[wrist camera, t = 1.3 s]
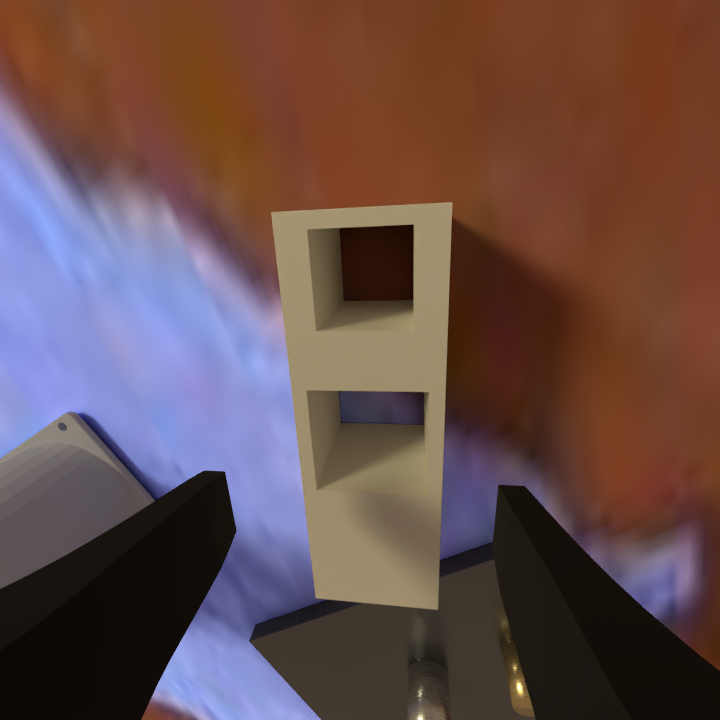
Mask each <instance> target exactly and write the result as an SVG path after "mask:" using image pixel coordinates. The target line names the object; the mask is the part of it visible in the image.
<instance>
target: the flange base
mask: <svg viewBox="0 0 720 720" xmlns="http://www.w3.org/2000/svg"><path fill="white" fill-rule="evenodd" d="M492 547H493V543H490V544H487V545H484V546H481V547H478V548H475V549H473V550H470V551H467V552H464V553H461V554H458V555H455V556H453V557H450V558H447V559H444V560H441V561H440V564H439V592H438V610H434V609H424V608H413V607H402V606H392V605H381V604H371V603H360V602H350V601H339V600H326V601H324V602H321V603H318V604H315V605H312V606H309V607H306V608H303V609H301V610H298V611H295V612H292V613H289V614H286V615H283V616H281V617H278V618H275V619H272V620H269V621H266V622H263V623H260V624H258V625H255V628H254V630H253V633H252V635H251V638H250V643H251V644H252V645H253V646H254V647H255V648H256V649H257V650H258V651H259V652H260V653H261V655H262V656H263V657H264V658H265V659H266V660H267V661H268V662H269V663H270V664H271V665H272V666H273V668H274V669H275V670H276V671H277V672H278V673H279V674H280V675H281V676H282V677H283V678H284V680H285V681H286V682H287V683H288V684H289V685H290V686H291V687H292V688H293V689H294V690H295V692H296V693H297V694H298V695H299V696H300V697H301V698H302V699H303V700H304V701H305V702H306V703H307V705H308V706H309V707H310V708H311V709H312V710H313V711H314V712H315V713H316V714H317V715H318V717H319V718H320V719H321V720H536V719H535V715H534V711H533V707H532V704H531V700H530V697H529V693H528V690H527V686H526V683H525V679H524V676H523V672H522V669H521V665H520V662H519V658H518V655H517V651H516V648H515V645H514V641H513V638H512V634H511V631H510V627H509V624H508V620H507V616H506V613H505V609H504V606H503V602H502V599H501V595H500V591H499V585H498V580H497V574H496V568H495V562H494V556H493V550H492Z"/></svg>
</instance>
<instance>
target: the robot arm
mask: <svg viewBox="0 0 720 720" xmlns="http://www.w3.org/2000/svg"><path fill="white" fill-rule="evenodd" d="M235 533H236V526H235V521H234V516H233V511H232V506H231V500H230V495H229V490H228V485H227V480H226V475H225V472H221V471H203V472H201V473H199V474H197V475H196V476H194V477H192V478H191V479H189V480H187V481H186V482H184V483H182V484H181V485H179V486H178V487H176V488H175V489H173V490H171V491H170V492H168V493H167V494H165V495H164V496H162V497H160V498H159V499H157V500H156V501H155V500H154V499H153V498H152V496H151V495H150V494H149V493H148V492H147V491H146V490H145V489H144V488H143V486H142V485H141V484H140V483H139V482H138V481H137V480H136V479H135V477H134V476H133V475H132V474H131V473H130V472H129V471H128V470H127V468H126V467H125V466H124V465H123V464H122V463H121V462H120V461H119V459H118V458H117V457H116V456H115V455H114V454H113V453H112V452H111V450H110V449H109V448H108V447H107V446H106V445H105V444H104V443H103V441H102V440H101V439H100V438H99V437H98V436H97V435H96V434H95V433H94V431H93V430H92V429H91V428H90V427H89V426H88V425H87V424H86V422H85V421H84V420H83V419H82V418H81V417H80V416H79V415H78V414H77V413H74V412H68V413H66V414H64V415H62V416H61V417H59V418H58V419H56V420H55V421H54V422H52V423H51V424H49V425H48V426H46V427H45V428H44V429H42V430H41V431H39V432H38V433H36V434H35V435H34V436H32V437H31V438H29V439H28V440H26V441H25V442H24V443H22V444H21V445H19V446H18V447H17V448H15V449H14V450H12V451H11V452H9V453H8V454H7V455H5V456H4V457H2V458H1V459H0V720H141V719H142V717H143V714H144V712H145V710H146V708H147V706H148V704H149V701H150V699H151V697H152V695H153V693H154V691H155V688H156V686H157V684H158V682H159V680H160V678H161V676H162V674H163V672H164V671H165V669H166V667H167V665H168V663H169V661H170V659H171V657H172V655H173V654H174V652H175V650H176V648H177V647H178V645H179V643H180V641H181V639H182V638H183V636H184V634H185V632H186V631H187V629H188V627H189V625H190V623H191V622H192V620H193V618H194V616H195V615H196V613H197V611H198V609H199V608H200V606H201V604H202V602H203V600H204V599H205V597H206V595H207V593H208V591H209V590H210V588H211V586H212V584H213V582H214V581H215V579H216V577H217V575H218V573H219V571H220V569H221V567H222V565H223V563H224V560H225V558H226V556H227V553H228V551H229V549H230V546H231V543H232V541H233V538H234V536H235ZM492 550H493V556H494V562H495V568H496V574H497V580H498V585H499V591H500V595H501V599H502V602H503V606H504V609H505V613H506V616H507V620H508V624H509V627H510V631H511V634H512V638H513V641H514V645H515V648H516V651H517V655H518V658H519V662H520V665H521V669H522V672H523V676H524V679H525V683H526V686H527V690H528V693H529V697H530V700H531V704H532V707H533V711H534V715H535V719H536V720H720V671H719V670H717V669H716V668H715V667H714V666H712V665H711V664H710V663H709V662H707V661H706V660H705V659H704V658H702V657H701V656H700V655H699V654H697V653H696V652H695V651H694V650H693V649H691V648H690V647H689V646H688V645H687V644H685V643H684V642H683V641H682V640H681V639H680V638H678V637H677V636H676V635H675V634H674V633H672V632H671V631H670V630H669V629H668V628H666V627H665V626H664V625H663V624H662V623H661V622H659V621H658V620H657V619H656V618H655V617H654V616H652V615H651V614H650V613H649V612H648V611H647V610H646V609H644V608H643V607H642V606H641V605H640V604H639V603H638V602H637V601H636V600H635V599H633V598H632V597H631V596H630V595H629V594H628V593H627V592H626V591H625V590H624V589H623V588H622V587H621V586H620V585H618V584H617V583H616V582H615V581H614V580H613V579H612V578H611V577H610V576H609V575H608V574H607V573H606V572H605V571H604V570H603V569H602V568H601V567H600V566H599V565H598V564H597V563H596V562H595V561H594V560H593V559H592V558H591V557H590V556H589V555H588V554H587V553H586V552H585V551H584V550H583V549H582V548H581V547H580V546H579V545H578V544H577V543H576V542H575V541H574V540H573V539H572V537H571V536H570V535H569V534H568V533H567V532H566V531H565V530H564V529H563V528H562V527H561V526H560V525H559V523H558V522H557V521H556V520H555V519H554V518H553V517H552V516H551V515H550V514H549V513H548V511H547V510H546V509H545V508H544V507H543V506H542V505H541V504H540V503H539V501H538V500H537V499H536V498H535V497H534V496H533V495H532V494H531V493H530V491H529V490H528V489H527V488H526V487H525V486H509V485H498V496H497V506H496V516H495V527H494V537H493V547H492Z"/></svg>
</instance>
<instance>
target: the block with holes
mask: <svg viewBox="0 0 720 720" xmlns="http://www.w3.org/2000/svg"><path fill="white" fill-rule="evenodd" d="M271 215H272V224H273V233H274V241H275V250H276V259H277V267H278V276H279V285H280V293H281V302H282V311H283V319H284V328H285V336H286V345H287V354H288V362H289V371H290V380H291V388H292V397H293V406H294V414H295V423H296V432H297V440H298V449H299V458H300V466H301V475H302V484H303V492H304V501H305V510H306V518H307V527H308V535H309V544H310V553H311V561H312V570H313V579H314V587H315V596H316V598H318V599H329V600H339V601H350V602H360V603H371V604H381V605H392V606H402V607H413V608H424V609H434V610H438V592H439V564H440V536H441V508H442V480H443V451H444V423H445V395H446V367H447V339H448V310H449V282H450V254H451V226H452V202H448V203H430V204H412V205H394V206H375V207H357V208H339V209H321V210H303V211H284V212H271ZM395 225H414V269H413V300H376V301H344V296H343V279H342V262H341V245H340V228H353V227H374V226H395ZM339 391H387V392H424V425H406V424H369V423H341V415H340V401H339Z"/></svg>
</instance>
